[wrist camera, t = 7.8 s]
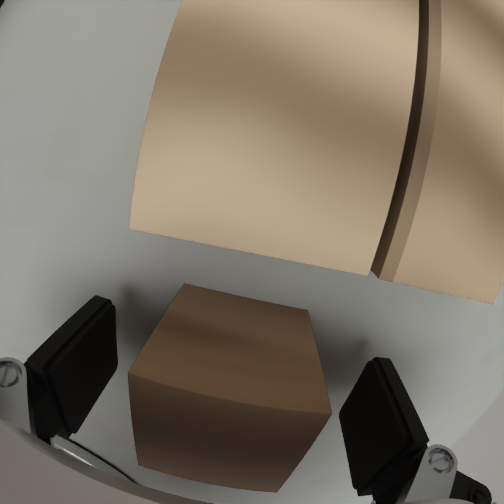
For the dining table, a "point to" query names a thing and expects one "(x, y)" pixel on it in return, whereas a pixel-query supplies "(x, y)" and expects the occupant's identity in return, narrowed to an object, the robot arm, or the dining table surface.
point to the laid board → (451, 158)
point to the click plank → (279, 127)
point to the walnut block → (228, 391)
